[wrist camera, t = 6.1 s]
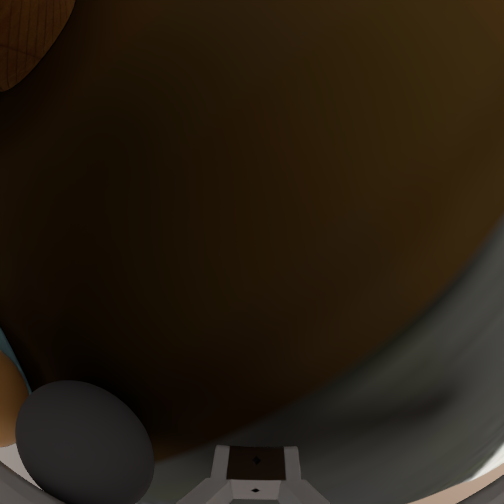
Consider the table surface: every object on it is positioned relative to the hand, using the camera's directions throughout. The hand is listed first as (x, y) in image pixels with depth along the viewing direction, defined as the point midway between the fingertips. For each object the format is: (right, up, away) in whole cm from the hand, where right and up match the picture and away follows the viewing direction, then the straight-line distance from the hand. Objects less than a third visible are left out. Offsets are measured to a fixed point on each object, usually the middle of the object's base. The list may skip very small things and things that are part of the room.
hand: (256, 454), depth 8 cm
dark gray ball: (-7, 0, -1) cm, 7 cm away
